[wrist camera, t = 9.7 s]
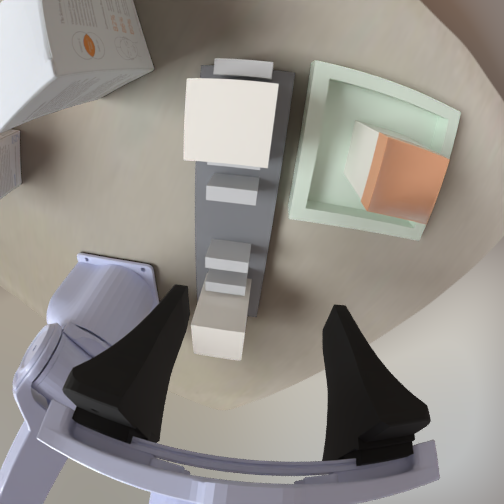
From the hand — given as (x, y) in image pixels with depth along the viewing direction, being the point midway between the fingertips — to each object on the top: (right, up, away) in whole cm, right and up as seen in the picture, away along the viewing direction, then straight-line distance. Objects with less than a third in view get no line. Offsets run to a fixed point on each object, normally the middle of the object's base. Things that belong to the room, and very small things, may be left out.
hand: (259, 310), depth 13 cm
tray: (+8, +10, +4) cm, 14 cm away
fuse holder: (-2, +6, +8) cm, 10 cm away
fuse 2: (-3, -1, +12) cm, 12 cm away
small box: (-11, +18, 0) cm, 21 cm away
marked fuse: (+8, +10, +4) cm, 13 cm away
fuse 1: (-1, +12, +3) cm, 12 cm away
